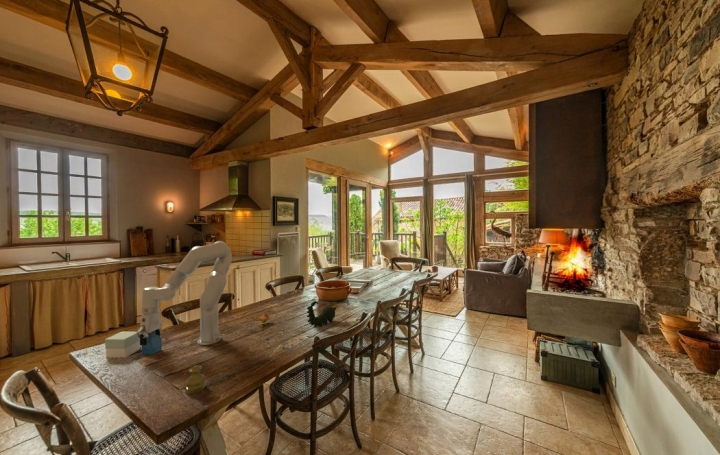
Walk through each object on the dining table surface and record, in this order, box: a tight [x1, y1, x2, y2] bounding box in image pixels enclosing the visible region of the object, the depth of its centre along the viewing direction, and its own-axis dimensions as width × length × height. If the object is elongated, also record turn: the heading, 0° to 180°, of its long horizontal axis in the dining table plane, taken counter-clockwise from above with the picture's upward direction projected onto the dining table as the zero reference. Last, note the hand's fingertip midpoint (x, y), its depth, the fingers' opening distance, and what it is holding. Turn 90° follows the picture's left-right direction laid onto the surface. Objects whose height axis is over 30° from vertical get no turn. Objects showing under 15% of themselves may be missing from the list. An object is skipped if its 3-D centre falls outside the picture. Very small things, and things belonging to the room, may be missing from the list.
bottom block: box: [105, 341, 141, 359], centre depth 150 cm, size 10×10×5 cm
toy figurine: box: [306, 300, 337, 328], centre depth 193 cm, size 9×19×25 cm
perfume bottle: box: [141, 331, 163, 356], centre depth 152 cm, size 6×6×12 cm
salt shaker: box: [184, 364, 206, 395], centre depth 119 cm, size 7×7×10 cm
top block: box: [104, 331, 140, 350], centre depth 150 cm, size 10×10×5 cm
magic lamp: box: [251, 305, 273, 323], centre depth 193 cm, size 7×18×11 cm, turn 150°
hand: (150, 341), depth 152 cm, fingers open, 9 cm apart
